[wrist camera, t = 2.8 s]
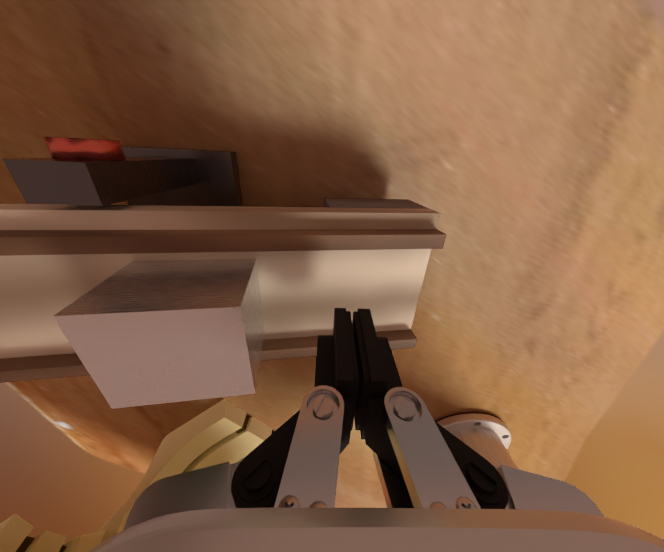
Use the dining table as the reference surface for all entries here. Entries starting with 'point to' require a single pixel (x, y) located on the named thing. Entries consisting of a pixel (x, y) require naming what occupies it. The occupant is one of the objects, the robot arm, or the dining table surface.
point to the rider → (170, 331)
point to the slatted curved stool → (157, 473)
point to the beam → (214, 243)
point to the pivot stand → (126, 175)
